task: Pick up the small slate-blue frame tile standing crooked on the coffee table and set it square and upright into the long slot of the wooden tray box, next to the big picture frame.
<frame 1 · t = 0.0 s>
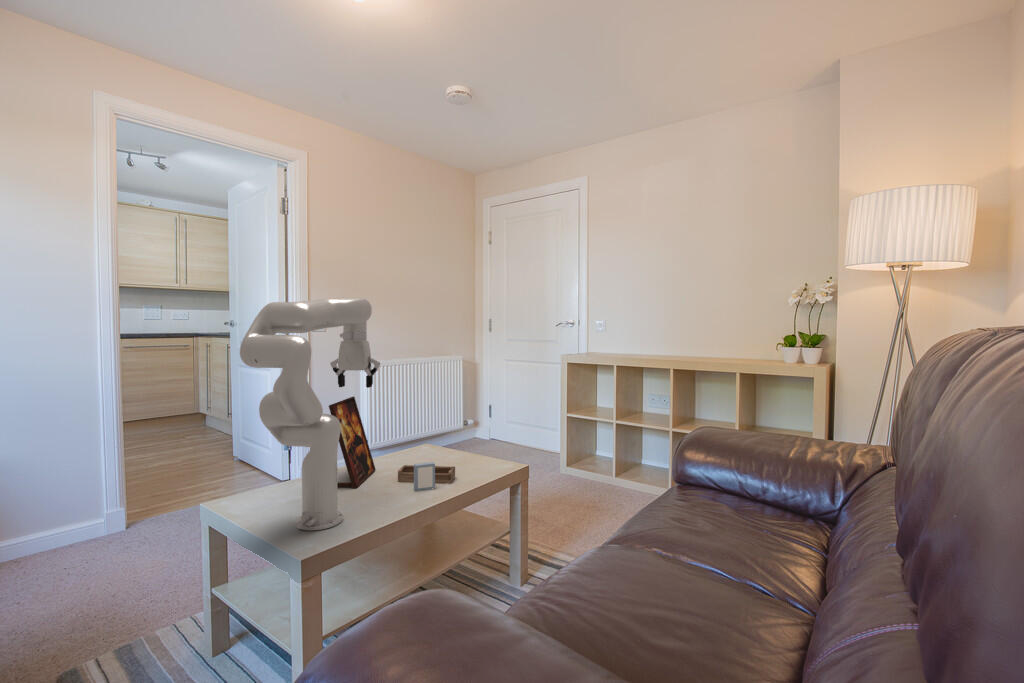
hand: (355, 387, 157), 37 cm above the table, tool pointing down, fingers open, 9 cm apart
wooden tray box: (426, 479, 173), on the table
picture frame: (353, 479, 174), on the table
blue frame tile: (424, 489, 163), on the table
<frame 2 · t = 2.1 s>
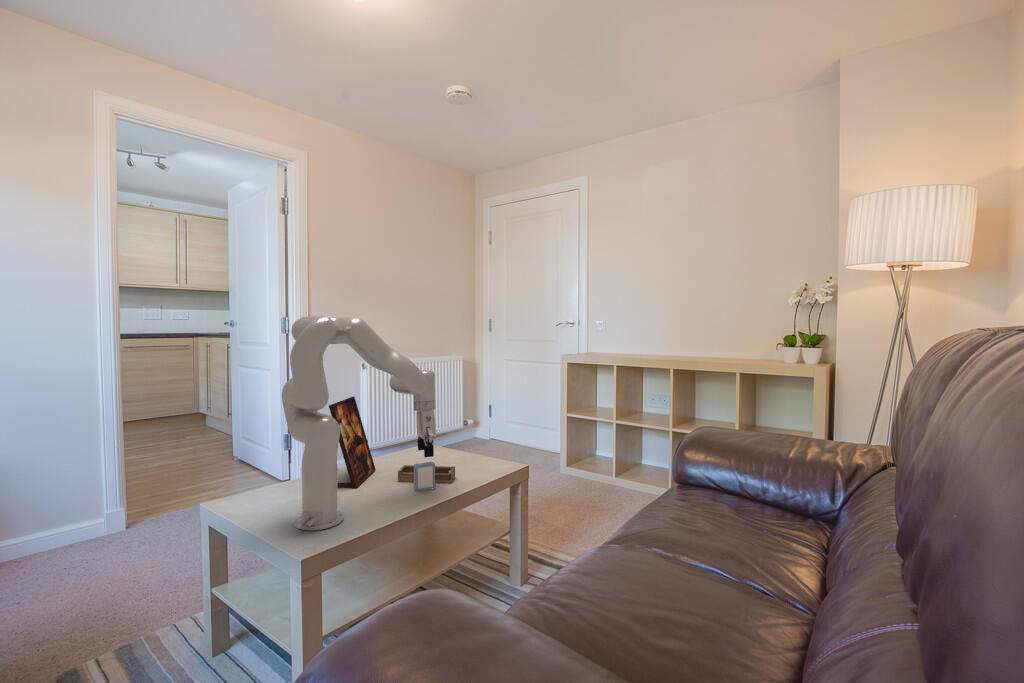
hand: (425, 453, 163), 13 cm above the table, tool pointing down, fingers open, 9 cm apart
nothing on the table moved.
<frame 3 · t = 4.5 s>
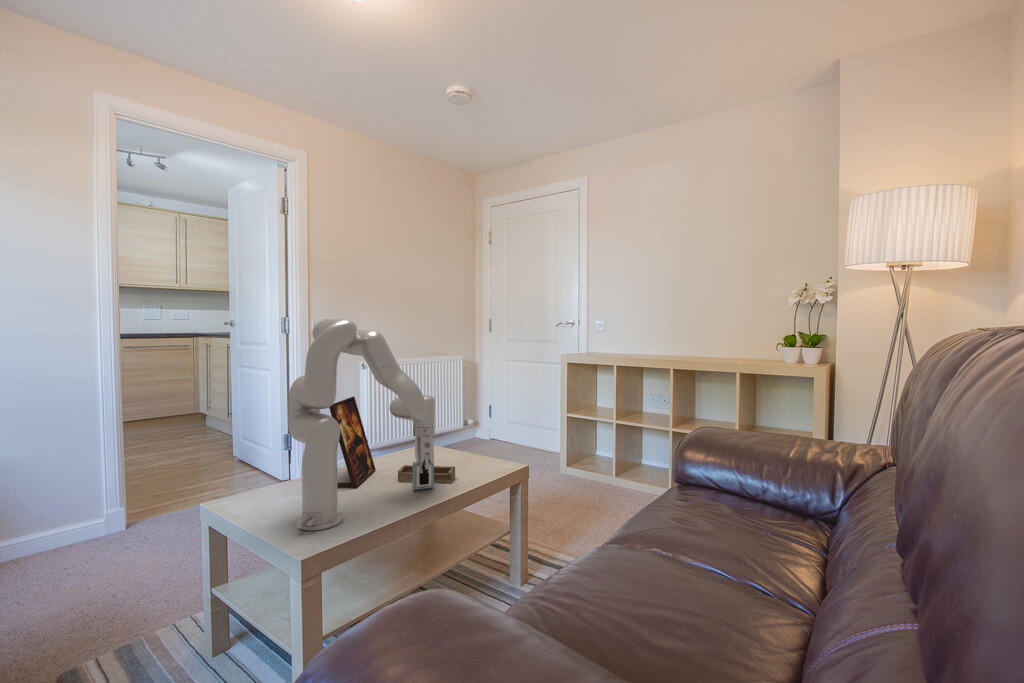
hand: (423, 482, 162), 2 cm above the table, tool pointing down, fingers closed on blue frame tile, 2 cm apart
blue frame tile: (422, 487, 162), point 1 cm above the table, touching gripper
everything else where it was.
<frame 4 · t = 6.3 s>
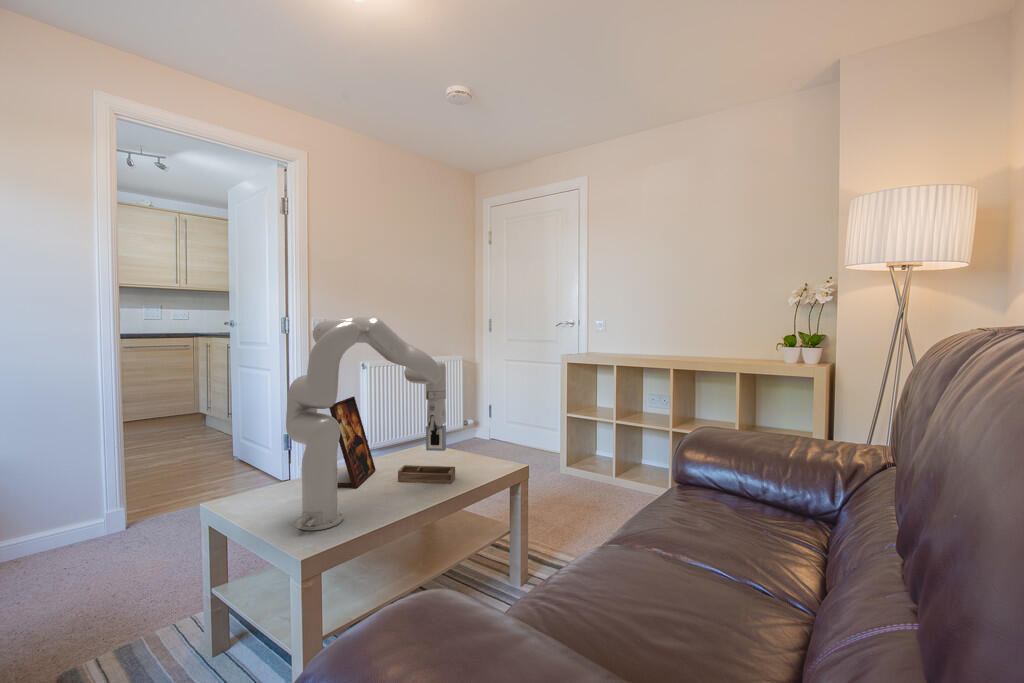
hand: (436, 443, 172), 14 cm above the table, tool pointing down, fingers closed on blue frame tile, 2 cm apart
blue frame tile: (436, 449, 173), point 11 cm above the table, touching gripper
everything else where it was.
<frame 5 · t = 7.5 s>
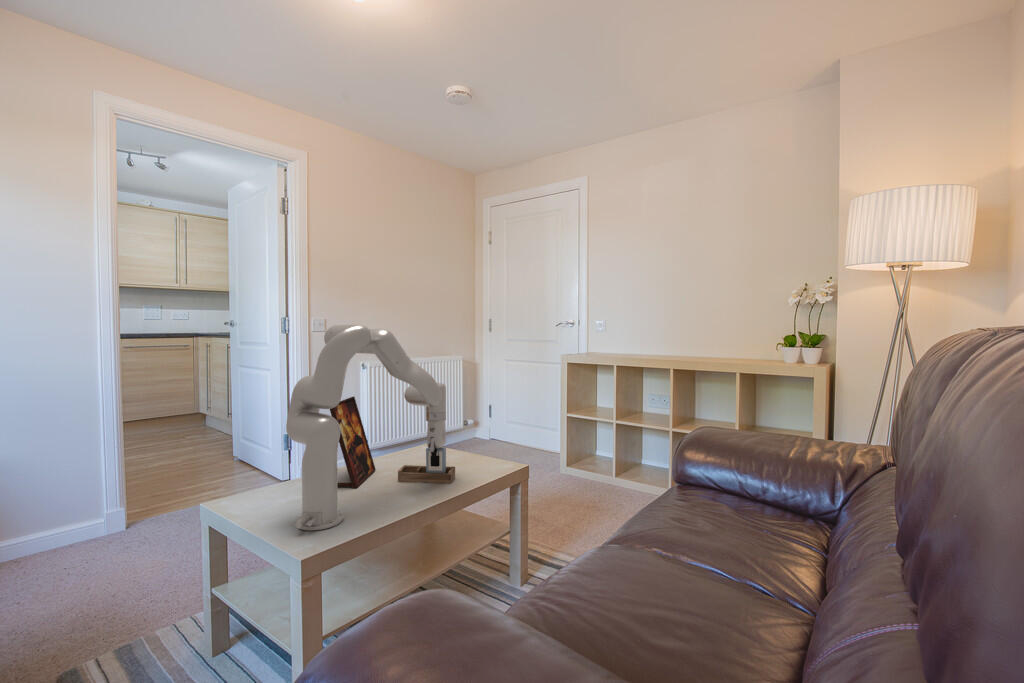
hand: (436, 464, 173), 6 cm above the table, tool pointing down, fingers closed on blue frame tile, 2 cm apart
blue frame tile: (436, 471, 173), point 3 cm above the table, touching gripper
everything else where it was.
when the fingers open (5 cm above the table, at t = 8.4 s): blue frame tile stays where it is, resting on wooden tray box.
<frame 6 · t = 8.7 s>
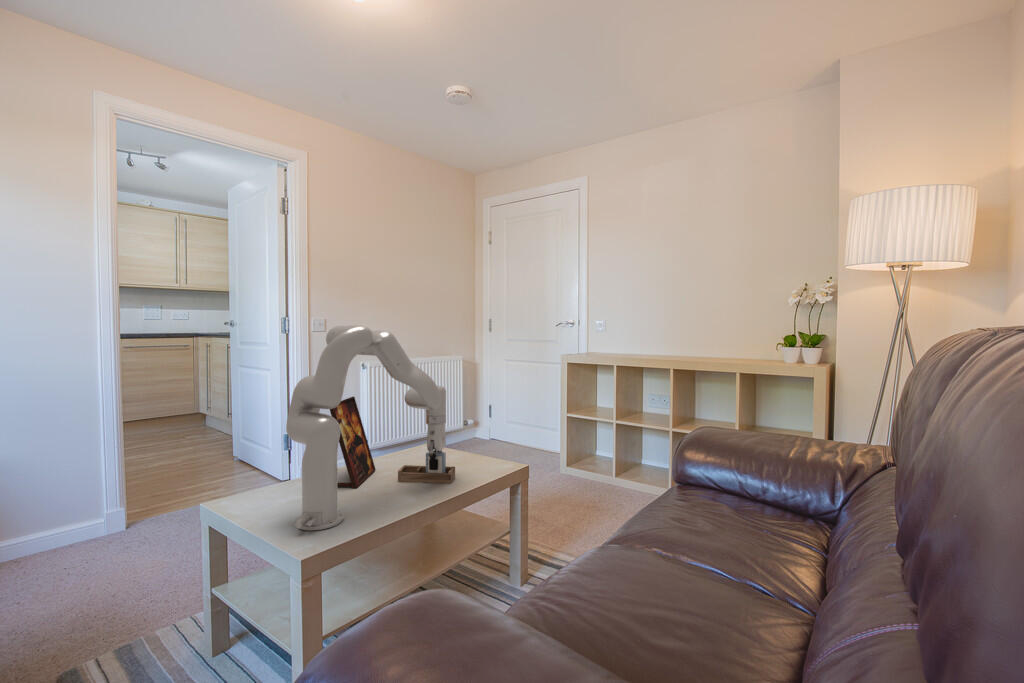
hand: (435, 466, 173), 5 cm above the table, tool pointing down, fingers open, 5 cm apart
blue frame tile: (435, 476, 173), point 1 cm above the table, touching wooden tray box
everything else where it was.
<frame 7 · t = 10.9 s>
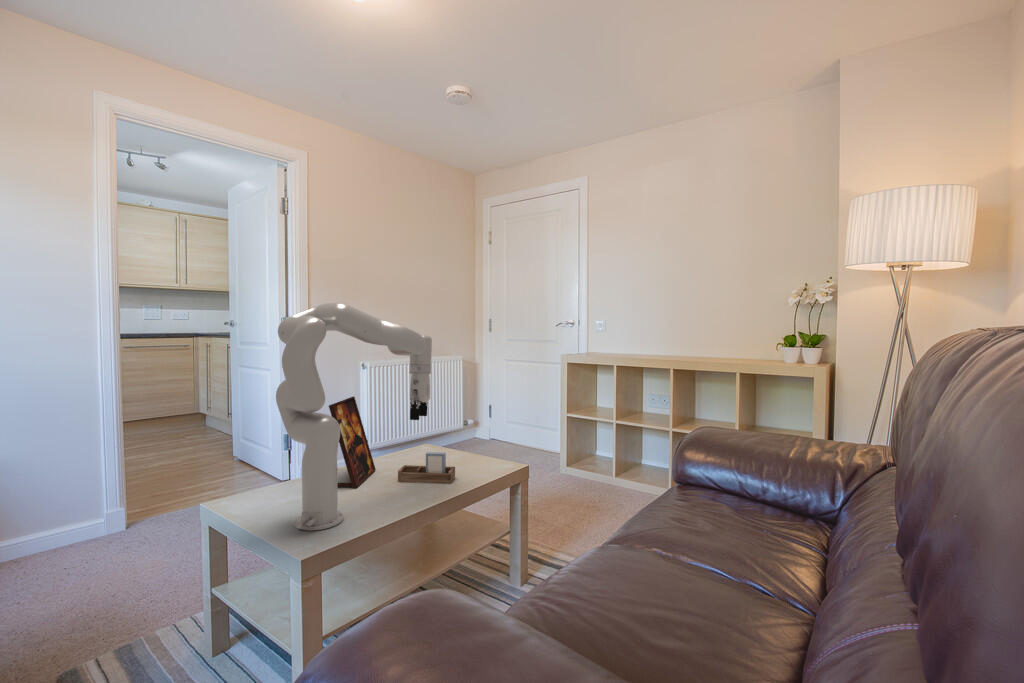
hand: (418, 417, 164), 25 cm above the table, tool pointing down, fingers open, 9 cm apart
nothing on the table moved.
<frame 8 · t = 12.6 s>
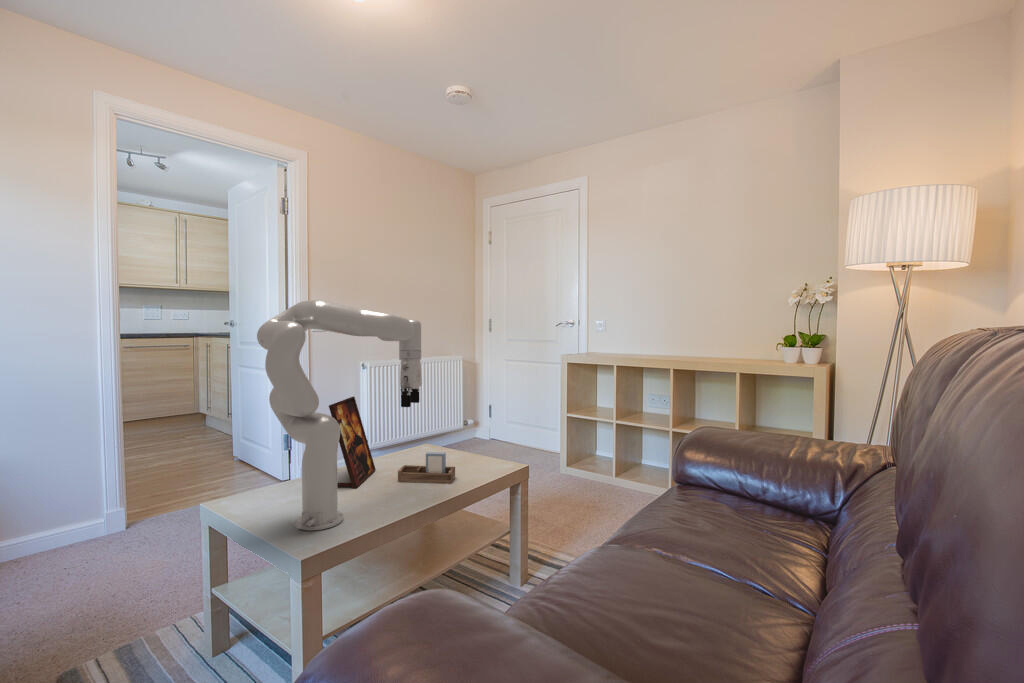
hand: (410, 404, 160), 30 cm above the table, tool pointing down, fingers open, 9 cm apart
nothing on the table moved.
at the end: blue frame tile inside the target area on the wooden tray box (0.0 cm from its centre), point 1.2 cm above the wooden tray box's base; blue frame tile tilted 0°; the gripper is holding nothing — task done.
